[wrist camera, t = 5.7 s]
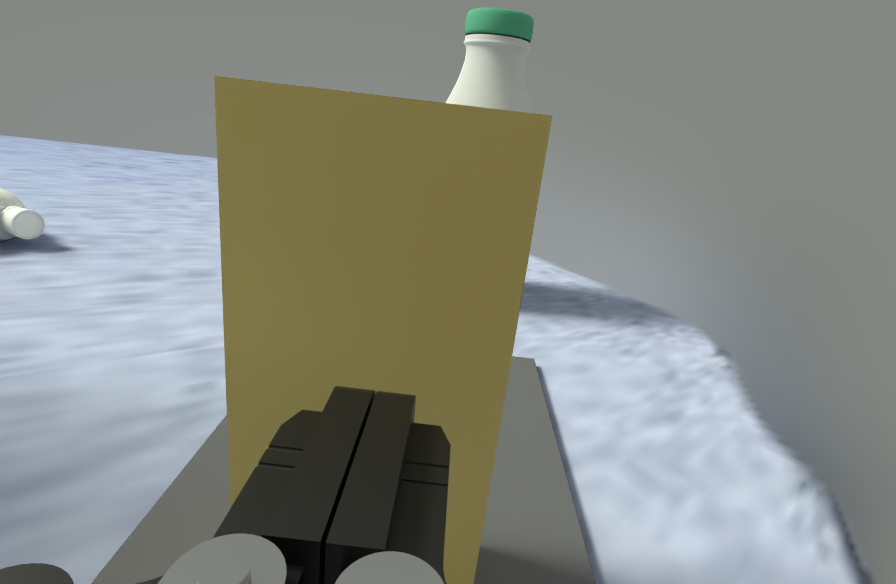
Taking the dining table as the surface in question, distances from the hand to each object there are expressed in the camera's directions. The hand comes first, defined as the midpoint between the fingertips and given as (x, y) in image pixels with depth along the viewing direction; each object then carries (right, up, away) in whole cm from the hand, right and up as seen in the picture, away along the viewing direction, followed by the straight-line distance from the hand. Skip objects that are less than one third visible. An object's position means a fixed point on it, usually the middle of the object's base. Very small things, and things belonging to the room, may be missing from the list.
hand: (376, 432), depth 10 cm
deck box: (-1, -5, +5) cm, 8 cm away
